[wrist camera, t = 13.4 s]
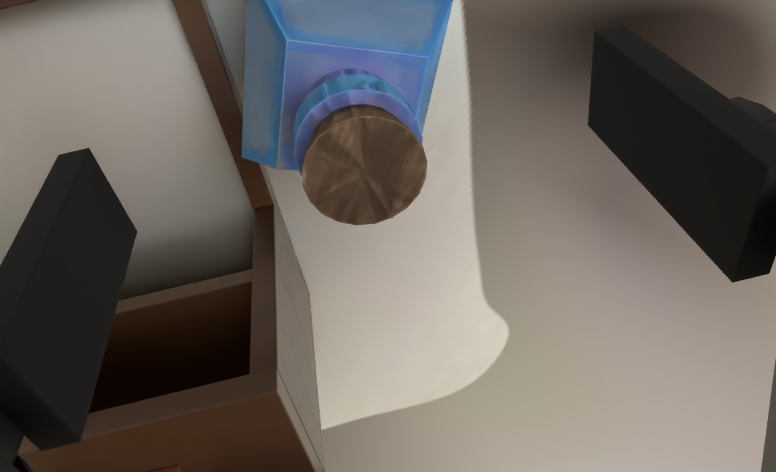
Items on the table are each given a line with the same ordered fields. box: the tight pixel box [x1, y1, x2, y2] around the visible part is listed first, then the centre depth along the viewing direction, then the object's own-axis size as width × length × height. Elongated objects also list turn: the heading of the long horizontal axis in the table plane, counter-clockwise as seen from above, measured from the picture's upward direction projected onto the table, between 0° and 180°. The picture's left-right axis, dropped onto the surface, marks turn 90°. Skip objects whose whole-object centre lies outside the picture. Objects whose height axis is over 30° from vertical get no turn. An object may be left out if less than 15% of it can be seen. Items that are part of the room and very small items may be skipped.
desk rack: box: [0, 0, 325, 472], centre depth 19 cm, size 19×16×19 cm
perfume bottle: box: [242, 0, 453, 225], centre depth 19 cm, size 6×6×12 cm
